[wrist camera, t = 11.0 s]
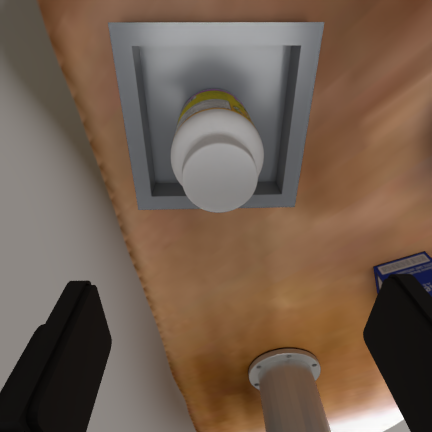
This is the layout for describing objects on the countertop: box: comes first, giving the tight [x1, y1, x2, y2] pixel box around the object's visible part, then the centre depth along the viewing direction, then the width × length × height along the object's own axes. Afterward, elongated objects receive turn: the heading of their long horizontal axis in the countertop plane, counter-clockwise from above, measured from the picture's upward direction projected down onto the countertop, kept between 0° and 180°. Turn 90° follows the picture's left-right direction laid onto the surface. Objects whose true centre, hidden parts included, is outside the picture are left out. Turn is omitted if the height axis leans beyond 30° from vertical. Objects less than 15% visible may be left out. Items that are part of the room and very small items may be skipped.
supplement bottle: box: [171, 89, 264, 213], centre depth 24 cm, size 7×7×13 cm
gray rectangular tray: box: [108, 22, 324, 210], centre depth 28 cm, size 16×16×4 cm
